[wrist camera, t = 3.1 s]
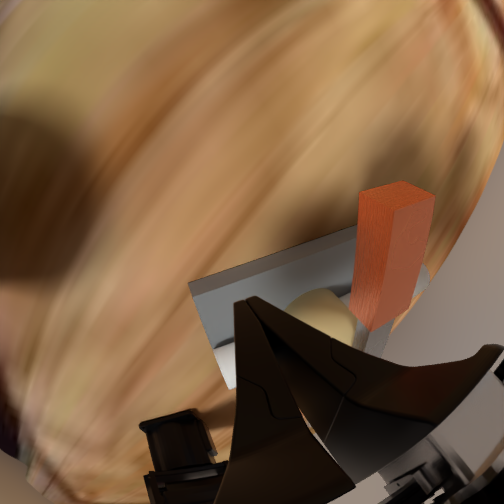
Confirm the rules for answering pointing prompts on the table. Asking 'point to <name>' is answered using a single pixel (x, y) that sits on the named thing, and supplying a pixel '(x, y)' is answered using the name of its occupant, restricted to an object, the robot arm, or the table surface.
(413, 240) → the valve lever
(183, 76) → the table surface
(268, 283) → the valve base
